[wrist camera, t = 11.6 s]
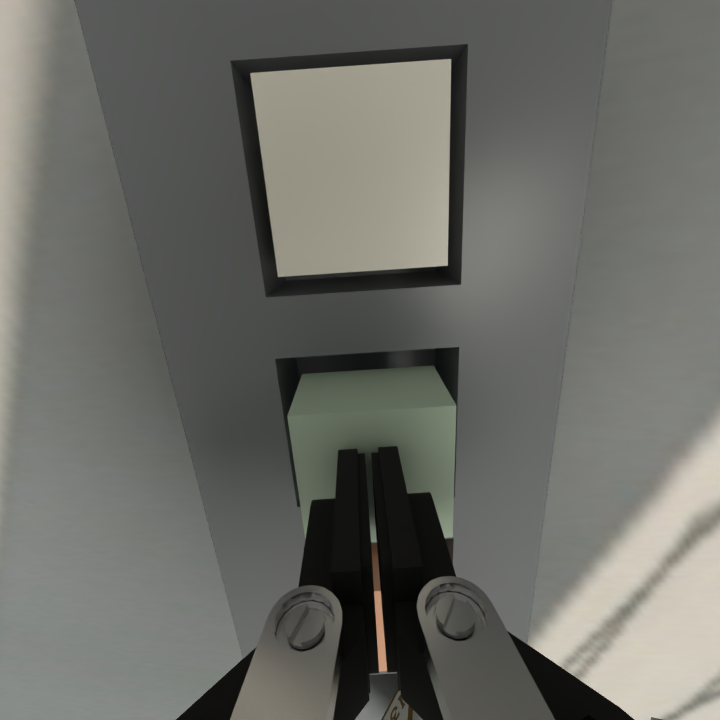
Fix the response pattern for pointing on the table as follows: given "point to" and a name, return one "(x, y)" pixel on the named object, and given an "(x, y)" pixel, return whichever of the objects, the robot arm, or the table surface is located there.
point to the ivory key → (356, 165)
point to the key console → (365, 288)
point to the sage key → (375, 432)
